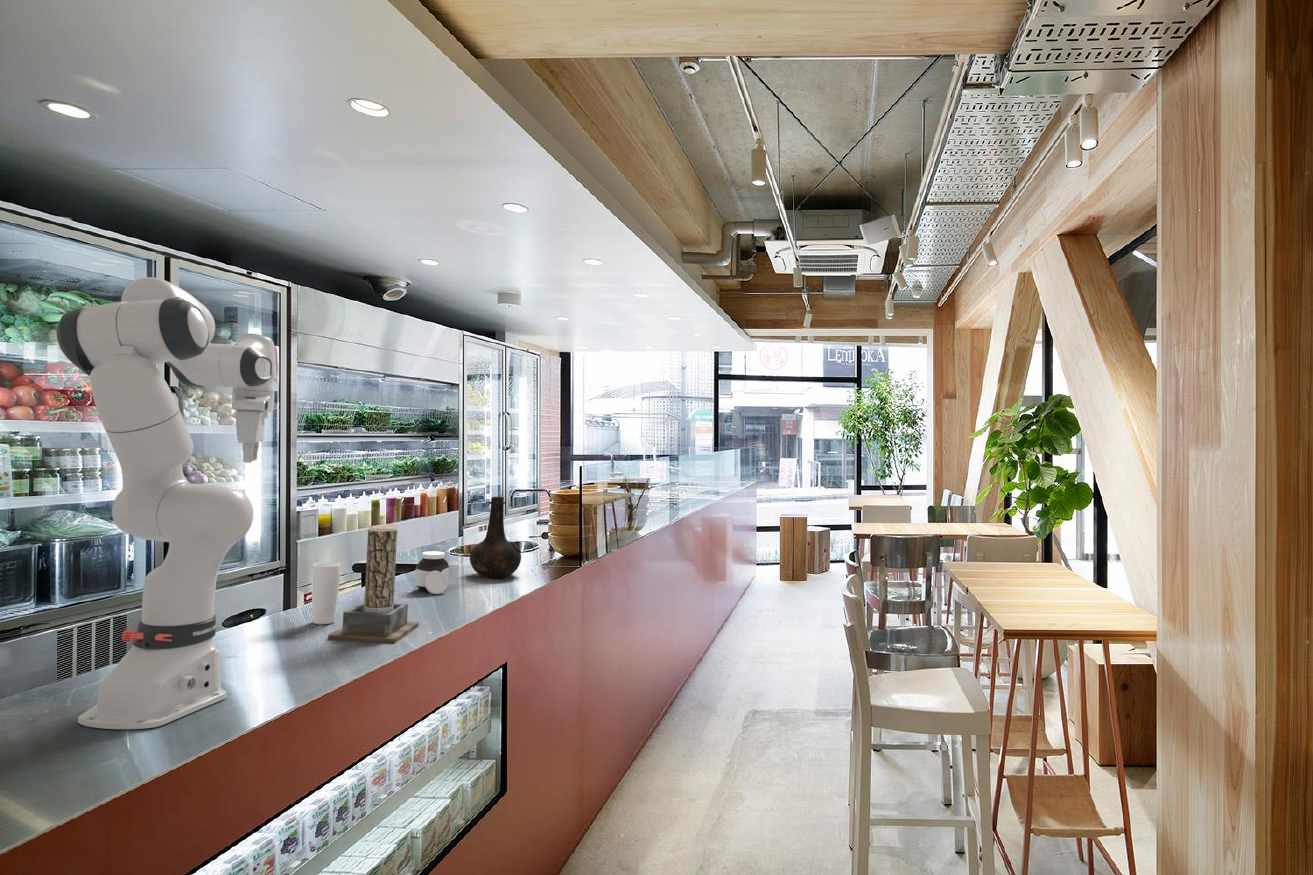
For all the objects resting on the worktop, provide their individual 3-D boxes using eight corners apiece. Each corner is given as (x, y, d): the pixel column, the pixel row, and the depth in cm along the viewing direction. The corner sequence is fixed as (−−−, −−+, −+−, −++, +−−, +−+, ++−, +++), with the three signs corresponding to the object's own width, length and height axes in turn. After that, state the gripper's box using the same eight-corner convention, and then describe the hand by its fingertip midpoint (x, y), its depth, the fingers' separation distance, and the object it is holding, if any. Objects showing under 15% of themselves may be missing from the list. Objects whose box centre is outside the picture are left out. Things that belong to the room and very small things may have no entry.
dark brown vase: (515, 581, 249) (519, 500, 249) (463, 579, 249) (467, 497, 249) (524, 572, 267) (528, 496, 267) (475, 569, 267) (479, 493, 267)
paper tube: (382, 633, 177) (387, 530, 177) (357, 630, 178) (362, 528, 178) (397, 626, 183) (402, 526, 183) (373, 623, 184) (378, 525, 184)
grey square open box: (394, 643, 172) (396, 617, 172) (328, 639, 173) (329, 613, 173) (418, 625, 188) (420, 602, 188) (357, 622, 189) (358, 599, 189)
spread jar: (433, 585, 237) (435, 549, 237) (460, 590, 232) (462, 553, 232) (406, 591, 227) (408, 554, 227) (433, 596, 222) (435, 558, 222)
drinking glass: (343, 621, 189) (346, 563, 189) (322, 627, 182) (325, 567, 182) (325, 617, 191) (328, 560, 191) (303, 623, 185) (306, 564, 185)
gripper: (243, 403, 182) (240, 459, 182) (232, 401, 163) (228, 463, 163) (271, 405, 184) (269, 459, 184) (263, 403, 165) (260, 464, 165)
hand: (250, 461), depth 173 cm, fingers open, 8 cm apart
